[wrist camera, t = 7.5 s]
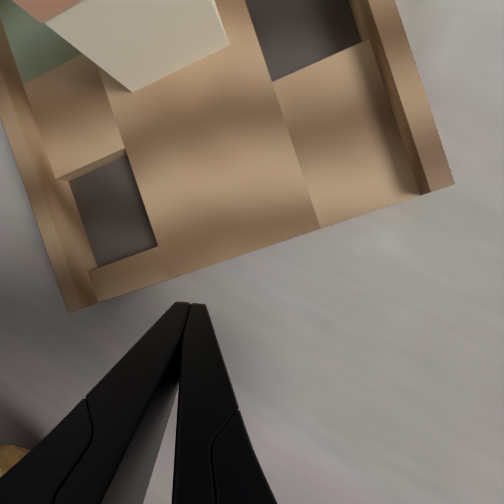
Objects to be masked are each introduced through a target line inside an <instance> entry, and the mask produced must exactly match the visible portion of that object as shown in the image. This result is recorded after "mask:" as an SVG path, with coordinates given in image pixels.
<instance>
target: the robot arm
mask: <svg viewBox="0 0 504 504" xmlns="http://www.w3.org/2000/svg"><path fill="white" fill-rule="evenodd" d="M178 386H179V393H178V409H177V425H176V441H175V458H174V474H173V490H172V504H277V502H276V499H275V497H274V495H273V493H272V491H271V489H270V486H269V484H268V482H267V480H266V478H265V476H264V473H263V471H262V469H261V466H260V464H259V462H258V459H257V457H256V454H255V452H254V450H253V447H252V444H251V442H250V439H249V436H248V433H247V430H246V428H245V425H244V422H243V418H242V415H241V412H240V411H239V406H238V403H237V400H236V397H235V394H234V391H233V388H232V385H231V382H230V378H229V375H228V372H227V369H226V366H225V363H224V360H223V357H222V353H221V350H220V347H219V344H218V341H217V338H216V335H215V332H214V328H213V325H212V322H211V319H210V316H209V313H208V310H207V307H206V305H205V304H197V303H192V304H190V303H188V302H175V303H174V304H173V305H172V306H171V307H170V308H169V309H168V310H167V311H166V313H165V314H164V315H163V316H162V317H161V318H160V319H159V320H158V321H157V322H156V323H155V324H154V325H153V326H152V327H151V328H150V329H149V330H148V331H147V332H146V333H145V334H144V336H143V337H142V338H141V339H140V340H139V341H138V342H137V343H136V344H135V345H134V346H133V347H132V348H131V349H130V350H129V351H128V352H127V353H126V354H125V355H124V356H123V358H122V359H121V360H120V361H119V362H118V363H117V364H116V365H115V366H114V367H113V368H112V369H111V370H110V371H109V372H108V373H107V374H106V375H105V376H104V377H103V378H102V379H101V381H100V382H99V383H98V384H97V385H96V386H95V387H94V388H93V389H92V390H91V391H90V392H89V393H88V394H87V395H86V399H85V398H84V399H82V400H81V401H80V402H79V403H78V404H77V405H76V406H75V408H74V409H73V410H72V411H71V412H70V413H69V414H68V415H67V416H66V417H65V418H64V419H63V420H62V421H61V422H60V423H59V424H58V425H57V426H56V427H55V428H54V429H53V430H52V431H51V432H50V433H49V434H48V435H47V436H46V437H44V438H43V439H42V440H41V441H40V442H39V443H38V444H37V445H36V446H35V447H34V448H32V449H31V450H30V451H29V452H28V453H27V454H26V455H25V456H24V457H23V458H21V459H20V460H19V461H18V462H17V463H16V464H15V465H14V466H12V467H11V468H10V469H9V470H8V471H7V472H6V473H5V474H3V475H2V476H1V477H0V504H143V501H144V498H145V495H146V491H147V488H148V485H149V482H150V478H151V475H152V472H153V468H154V465H155V462H156V459H157V455H158V452H159V449H160V445H161V442H162V439H163V435H164V432H165V429H166V426H167V422H168V419H169V416H170V412H171V409H172V406H173V403H174V399H175V396H176V393H177V389H178Z"/></svg>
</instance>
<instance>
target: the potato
mask: <svg viewBox="0 0 504 504" xmlns="http://www.w3.org/2000/svg"><path fill="white" fill-rule="evenodd" d="M29 451H30V450H29V449H26V448H22V447H18V446H14V445H7V444H0V477H1V476H2V475H3V474H5V473H6V472H7V471H8V470H9V469H10V468H11V467H12V466H14V465H15V464H16V463H17V462H18V461H19V460H20V459H21V458H23V457H24V456H25V455H26V454H27V453H28V452H29Z"/></svg>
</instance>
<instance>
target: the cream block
mask: <svg viewBox="0 0 504 504" xmlns="http://www.w3.org/2000/svg"><path fill="white" fill-rule="evenodd" d="M12 1H13V2H15V3H16V4H17V5H18V6H20V7H21V8H22V9H24V10H25V11H26V12H27V13H29V14H30V15H31V16H33V17H34V18H35V19H36V20H38V21H39V22H40V23H45V24H46V25H47V26H48V27H50V28H51V29H52V30H54V31H55V32H56V33H57V34H59V35H60V36H61V37H62V38H64V39H65V40H66V41H68V42H69V43H70V44H71V45H73V46H74V47H75V48H76V49H78V50H79V51H80V52H82V53H83V54H84V55H85V56H87V57H88V58H89V59H90V60H92V61H93V62H94V63H96V64H97V65H98V66H99V67H101V68H102V69H103V70H104V71H106V72H107V73H108V74H110V75H111V76H112V77H113V78H115V79H116V80H117V81H118V82H120V83H121V84H122V85H124V86H125V87H126V88H127V89H129V90H130V91H131V92H134V91H137V90H139V89H141V88H143V87H145V86H147V85H149V84H151V83H153V82H155V81H157V80H159V79H161V78H163V77H165V76H167V75H169V74H172V73H174V72H176V71H178V70H180V69H182V68H184V67H186V66H188V65H190V64H192V63H194V62H196V61H198V60H200V59H202V58H204V57H207V56H209V55H211V54H213V53H215V52H217V51H219V50H221V49H223V48H225V47H227V46H229V42H228V39H227V36H226V33H225V30H224V27H223V24H222V21H221V18H220V15H219V12H218V9H217V6H216V3H215V0H12Z"/></svg>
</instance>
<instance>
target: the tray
mask: <svg viewBox="0 0 504 504" xmlns="http://www.w3.org/2000/svg"><path fill="white" fill-rule="evenodd" d="M215 3H216V6H217V9H218V12H219V15H220V18H221V21H222V24H223V27H224V30H225V33H226V36H227V39H228V42H229V46H227V47H225V48H223V49H221V50H219V51H217V52H215V53H213V54H211V55H209V56H207V57H204V58H202V59H200V60H198V61H196V62H194V63H192V64H190V65H188V66H186V67H184V68H182V69H180V70H178V71H176V72H174V73H172V74H169V75H167V76H165V77H163V78H161V79H159V80H157V81H155V82H153V83H151V84H149V85H147V86H145V87H143V88H141V89H139V90H137V91H134V92H131V91H130V90H129V89H127V88H126V87H125V86H124V85H122V84H121V83H120V82H118V81H117V80H116V79H115V78H113V77H112V76H111V75H110V74H108V73H107V72H106V71H104V70H103V69H102V68H101V67H99V66H98V65H97V64H96V63H94V62H93V61H92V60H90V59H89V58H88V57H87V56H85V55H84V54H83V53H82V52H80V51H79V50H78V49H76V48H75V47H74V46H73V45H71V44H70V43H69V42H68V41H66V40H65V39H64V38H62V37H61V36H60V35H59V34H57V33H56V32H55V31H54V30H52V29H51V28H50V27H48V26H47V25H46V24H45V23H40V22H39V21H38V20H36V19H35V18H34V17H33V16H31V15H30V14H29V13H27V12H26V11H25V10H24V9H22V8H21V7H20V6H18V5H17V4H16V3H15V2H13V1H12V0H0V116H1V119H2V122H3V125H4V128H5V131H6V134H7V137H8V140H9V142H10V145H11V148H12V151H13V154H14V157H15V160H16V163H17V166H18V169H19V172H20V174H21V177H22V180H23V183H24V186H25V189H26V192H27V195H28V198H29V201H30V203H31V206H32V209H33V212H34V215H35V218H36V221H37V224H38V227H39V230H40V233H41V235H42V238H43V241H44V244H45V247H46V250H47V253H48V256H49V259H50V262H51V264H52V267H53V270H54V273H55V276H56V279H57V282H58V285H59V288H60V291H61V294H62V296H63V299H64V302H65V305H66V308H67V311H68V313H70V312H73V311H76V310H79V309H82V308H85V307H87V306H90V305H93V304H96V303H99V302H102V301H105V300H108V299H111V298H114V297H117V296H120V295H123V294H126V293H129V292H132V291H135V290H138V289H141V288H144V287H147V286H150V285H153V284H156V283H159V282H162V281H165V280H168V279H171V278H174V277H177V276H180V275H183V274H186V273H189V272H192V271H195V270H198V269H201V268H204V267H207V266H210V265H213V264H216V263H219V262H222V261H225V260H228V259H231V258H234V257H237V256H240V255H243V254H246V253H249V252H252V251H255V250H258V249H261V248H264V247H267V246H270V245H273V244H276V243H279V242H282V241H285V240H288V239H291V238H294V237H297V236H300V235H303V234H306V233H309V232H312V231H315V230H318V229H321V228H324V227H327V226H330V225H333V224H336V223H339V222H342V221H345V220H348V219H351V218H354V217H357V216H360V215H363V214H366V213H369V212H372V211H375V210H378V209H381V208H384V207H387V206H390V205H393V204H396V203H399V202H402V201H405V200H408V199H411V198H414V197H417V196H420V195H423V194H426V193H429V192H432V191H435V190H438V189H441V188H444V187H447V186H450V185H453V184H455V183H454V180H453V177H452V174H451V171H450V168H449V165H448V162H447V159H446V156H445V153H444V150H443V146H442V143H441V140H440V137H439V134H438V131H437V128H436V125H435V122H434V119H433V116H432V113H431V110H430V107H429V104H428V101H427V97H426V94H425V91H424V88H423V85H422V82H421V79H420V76H419V73H418V70H417V67H416V64H415V61H414V58H413V55H412V52H411V49H410V45H409V42H408V39H407V36H406V33H405V30H404V27H403V24H402V21H401V18H400V15H399V12H398V9H397V6H396V3H395V0H215Z"/></svg>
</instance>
